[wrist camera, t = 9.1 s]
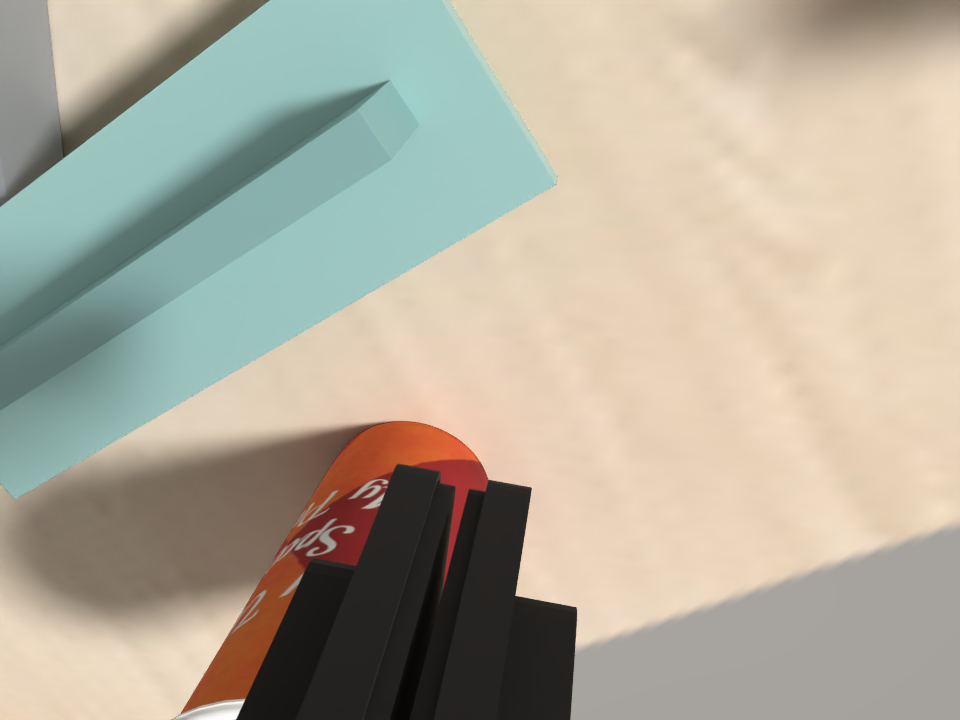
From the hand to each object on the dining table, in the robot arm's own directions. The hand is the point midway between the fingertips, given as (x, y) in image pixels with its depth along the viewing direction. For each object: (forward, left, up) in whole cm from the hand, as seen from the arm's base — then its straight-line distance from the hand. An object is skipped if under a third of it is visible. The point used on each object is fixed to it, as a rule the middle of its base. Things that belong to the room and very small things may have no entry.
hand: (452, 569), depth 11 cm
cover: (+4, -11, -13) cm, 17 cm away
